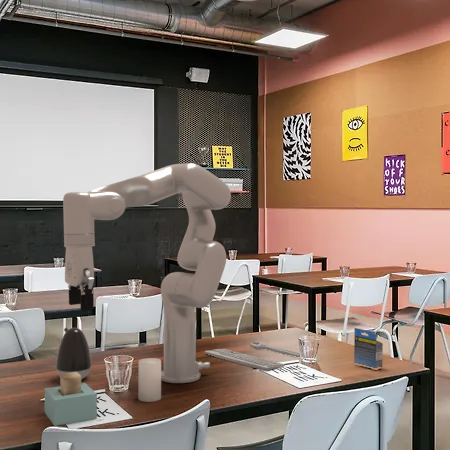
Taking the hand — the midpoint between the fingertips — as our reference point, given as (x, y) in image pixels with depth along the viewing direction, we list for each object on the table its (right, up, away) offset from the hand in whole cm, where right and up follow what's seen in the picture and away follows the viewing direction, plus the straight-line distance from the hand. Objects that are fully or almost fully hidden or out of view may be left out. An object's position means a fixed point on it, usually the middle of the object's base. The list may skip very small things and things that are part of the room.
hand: (81, 307), depth 147 cm
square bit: (-1, -25, -7) cm, 26 cm away
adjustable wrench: (+55, -25, +58) cm, 84 cm away
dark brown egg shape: (-8, -25, +23) cm, 35 cm away
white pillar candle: (+17, -25, +6) cm, 31 cm away
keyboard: (+44, -25, +47) cm, 69 cm away
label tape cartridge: (+83, -25, +39) cm, 95 cm away
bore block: (-1, -25, -7) cm, 26 cm away
